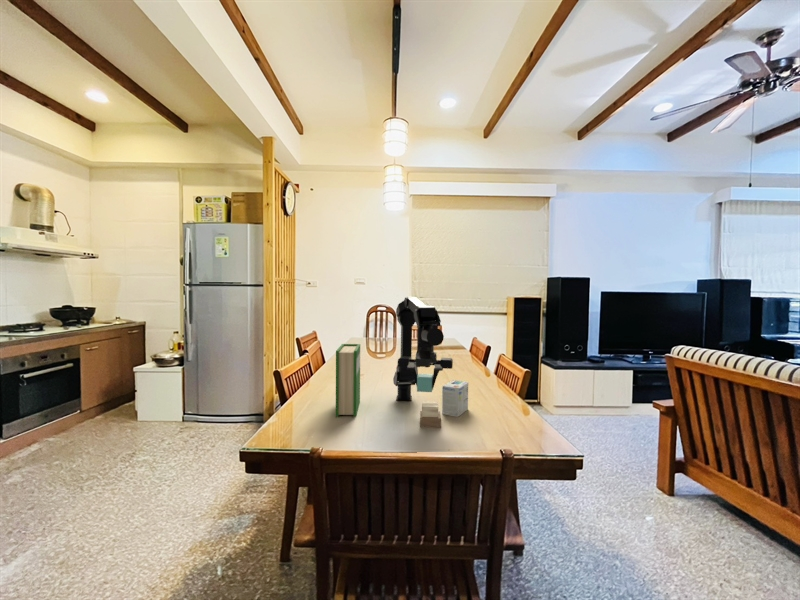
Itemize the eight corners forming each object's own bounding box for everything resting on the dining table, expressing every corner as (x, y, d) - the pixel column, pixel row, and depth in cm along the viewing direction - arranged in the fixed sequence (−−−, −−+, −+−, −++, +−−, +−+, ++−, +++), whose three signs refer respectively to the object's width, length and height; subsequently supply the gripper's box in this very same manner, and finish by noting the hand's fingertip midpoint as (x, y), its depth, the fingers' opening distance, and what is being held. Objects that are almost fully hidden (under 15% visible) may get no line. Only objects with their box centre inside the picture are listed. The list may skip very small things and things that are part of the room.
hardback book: (356, 417, 130) (356, 351, 130) (335, 417, 130) (335, 350, 130) (359, 402, 148) (360, 344, 147) (341, 402, 148) (342, 343, 147)
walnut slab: (420, 420, 128) (420, 410, 128) (439, 421, 128) (440, 411, 128) (420, 428, 121) (420, 417, 121) (441, 428, 121) (441, 418, 121)
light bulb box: (452, 406, 144) (452, 379, 143) (468, 409, 140) (469, 381, 140) (441, 414, 134) (441, 385, 134) (458, 417, 131) (458, 388, 131)
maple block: (421, 411, 127) (421, 401, 127) (437, 411, 127) (437, 401, 127) (422, 416, 122) (422, 406, 122) (438, 417, 122) (438, 406, 122)
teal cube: (416, 391, 123) (417, 376, 123) (418, 387, 128) (419, 373, 128) (431, 392, 122) (431, 377, 122) (433, 388, 127) (433, 374, 127)
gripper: (394, 344, 119) (394, 391, 119) (451, 346, 115) (451, 394, 115) (400, 340, 130) (400, 383, 130) (452, 341, 126) (452, 386, 126)
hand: (425, 387), depth 125 cm, fingers closed on teal cube, 5 cm apart
